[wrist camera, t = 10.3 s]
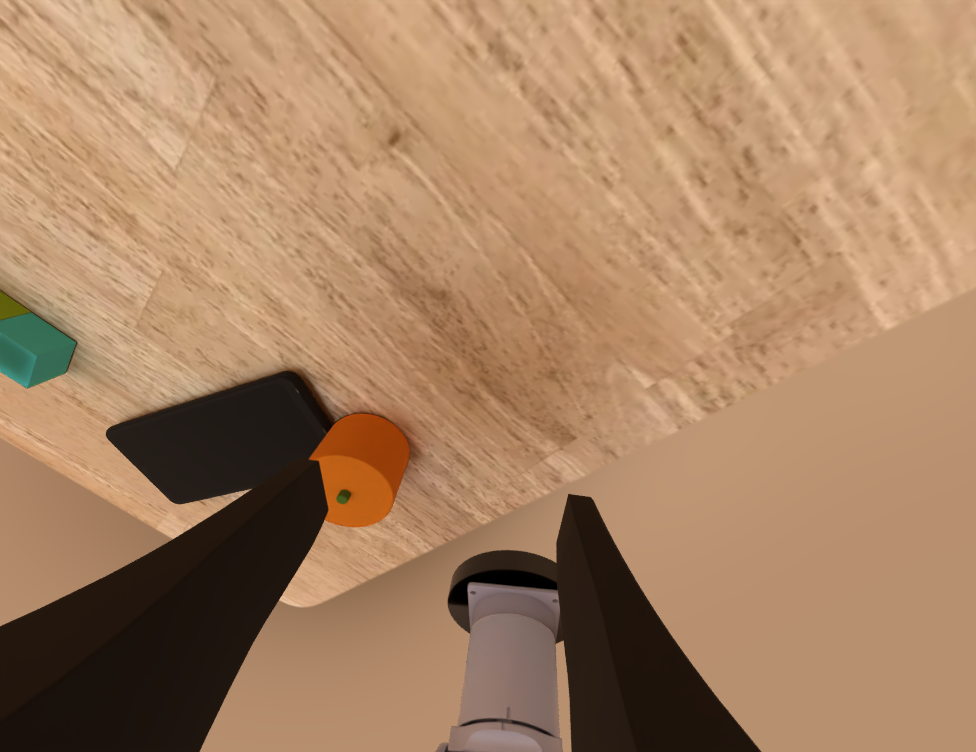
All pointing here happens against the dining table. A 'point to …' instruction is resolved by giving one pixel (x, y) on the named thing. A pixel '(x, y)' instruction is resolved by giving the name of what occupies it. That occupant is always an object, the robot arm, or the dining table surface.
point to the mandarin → (361, 468)
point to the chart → (30, 346)
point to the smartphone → (224, 438)
